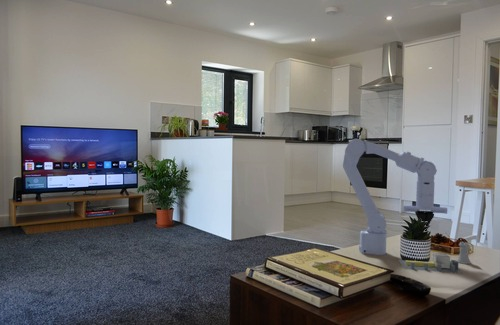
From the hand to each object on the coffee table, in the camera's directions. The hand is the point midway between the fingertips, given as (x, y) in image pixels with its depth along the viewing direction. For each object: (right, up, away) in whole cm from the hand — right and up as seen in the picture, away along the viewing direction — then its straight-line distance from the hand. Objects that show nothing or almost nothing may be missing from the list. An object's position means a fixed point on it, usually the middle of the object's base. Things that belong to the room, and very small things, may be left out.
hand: (423, 232), depth 133 cm
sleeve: (0, -9, -12) cm, 15 cm away
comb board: (-4, -10, -11) cm, 16 cm away
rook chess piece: (+11, -11, -6) cm, 16 cm away
